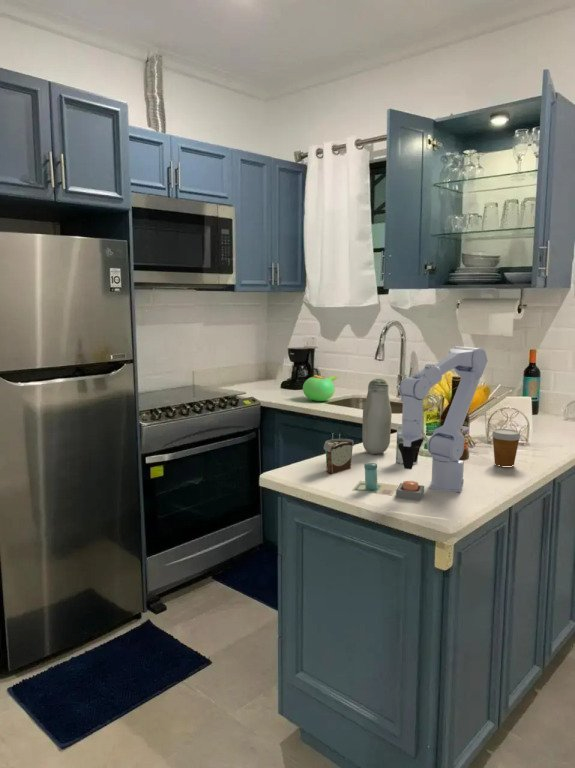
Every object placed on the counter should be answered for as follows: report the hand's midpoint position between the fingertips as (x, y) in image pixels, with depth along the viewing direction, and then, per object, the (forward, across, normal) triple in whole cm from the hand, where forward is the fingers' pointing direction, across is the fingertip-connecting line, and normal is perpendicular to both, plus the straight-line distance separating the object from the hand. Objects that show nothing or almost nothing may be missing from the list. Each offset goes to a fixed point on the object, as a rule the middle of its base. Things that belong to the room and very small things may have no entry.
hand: (410, 465), depth 173 cm
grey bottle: (+10, -44, -20) cm, 49 cm away
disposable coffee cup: (+10, -46, +25) cm, 53 cm away
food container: (+10, -17, -28) cm, 34 cm away
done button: (+8, 0, 0) cm, 8 cm away
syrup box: (+10, -35, -7) cm, 37 cm away
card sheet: (+9, -3, -11) cm, 15 cm away
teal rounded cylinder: (+9, -1, -12) cm, 15 cm away
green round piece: (+10, -141, -75) cm, 160 cm away
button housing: (+9, 0, 0) cm, 9 cm away
